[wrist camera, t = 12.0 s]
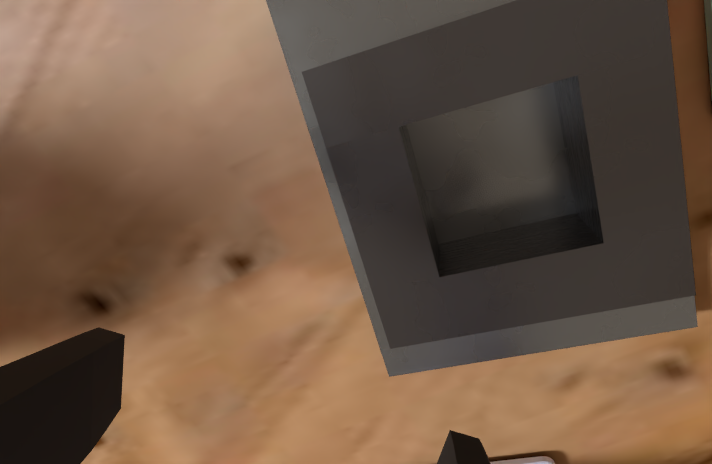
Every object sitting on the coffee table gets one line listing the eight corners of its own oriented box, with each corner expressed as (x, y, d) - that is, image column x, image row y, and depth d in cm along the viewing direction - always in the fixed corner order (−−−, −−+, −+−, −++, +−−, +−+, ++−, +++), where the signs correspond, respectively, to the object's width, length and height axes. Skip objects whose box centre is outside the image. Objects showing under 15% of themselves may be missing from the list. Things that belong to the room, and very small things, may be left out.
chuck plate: (684, 313, 19) (747, 376, 15) (391, 363, 22) (382, 426, 18) (634, -152, 14) (706, -227, 10) (270, -12, 17) (225, -32, 13)
